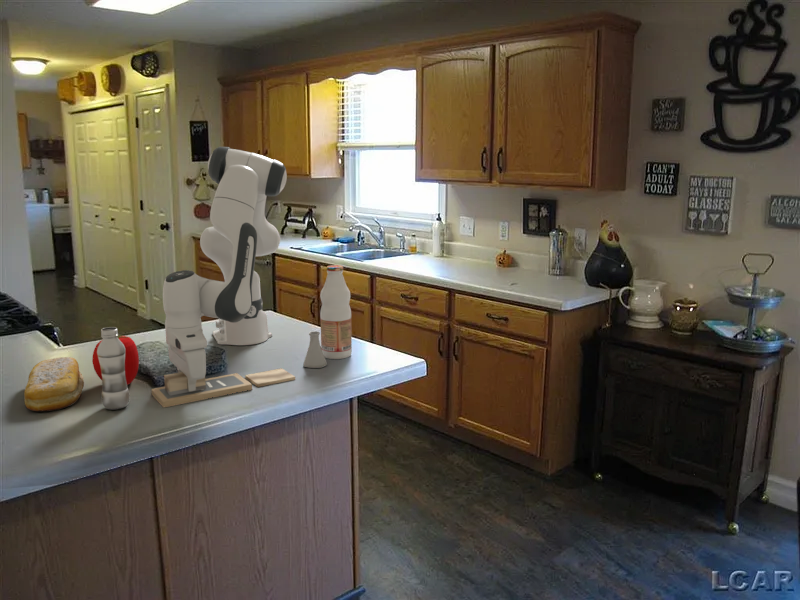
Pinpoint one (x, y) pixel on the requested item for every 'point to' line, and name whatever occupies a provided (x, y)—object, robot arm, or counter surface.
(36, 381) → the bread
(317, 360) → the flask
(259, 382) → the pad
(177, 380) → the block
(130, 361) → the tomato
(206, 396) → the chalkboard
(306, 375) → the counter surface
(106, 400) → the plastic bottle
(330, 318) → the fruit juice
